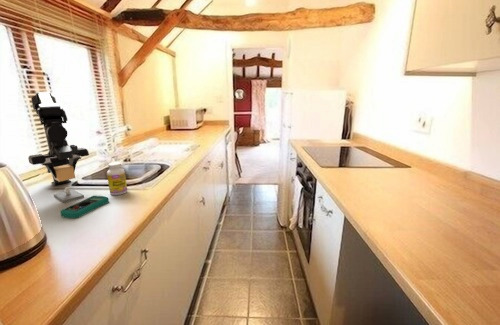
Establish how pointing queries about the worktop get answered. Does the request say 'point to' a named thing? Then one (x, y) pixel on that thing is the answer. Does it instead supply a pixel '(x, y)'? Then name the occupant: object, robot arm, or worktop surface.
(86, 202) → the digital multimeter
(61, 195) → the post board
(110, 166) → the supplement bottle
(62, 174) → the tan wooden block
